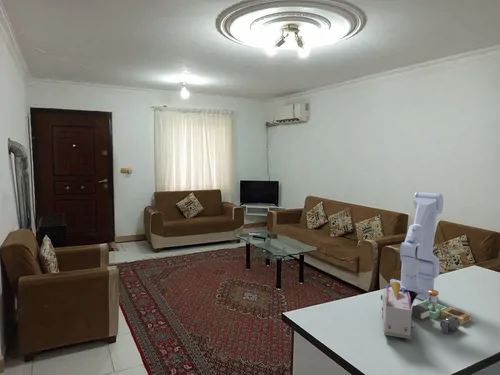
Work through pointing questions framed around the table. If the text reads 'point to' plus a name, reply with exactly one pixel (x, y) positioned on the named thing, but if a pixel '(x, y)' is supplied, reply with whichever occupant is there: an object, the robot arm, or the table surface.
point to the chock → (420, 312)
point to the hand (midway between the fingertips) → (407, 309)
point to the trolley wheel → (449, 324)
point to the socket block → (456, 314)
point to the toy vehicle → (396, 312)
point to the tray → (433, 314)
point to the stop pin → (432, 300)
